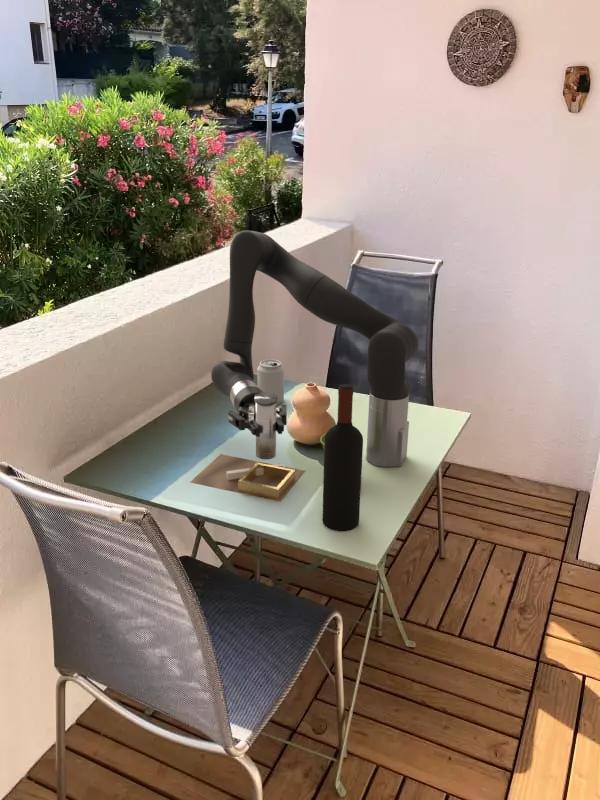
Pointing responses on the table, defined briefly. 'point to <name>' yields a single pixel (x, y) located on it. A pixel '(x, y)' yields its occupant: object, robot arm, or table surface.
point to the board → (217, 478)
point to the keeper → (267, 490)
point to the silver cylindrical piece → (266, 424)
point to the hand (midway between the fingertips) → (269, 431)
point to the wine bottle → (342, 468)
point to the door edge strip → (241, 472)
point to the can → (271, 378)
